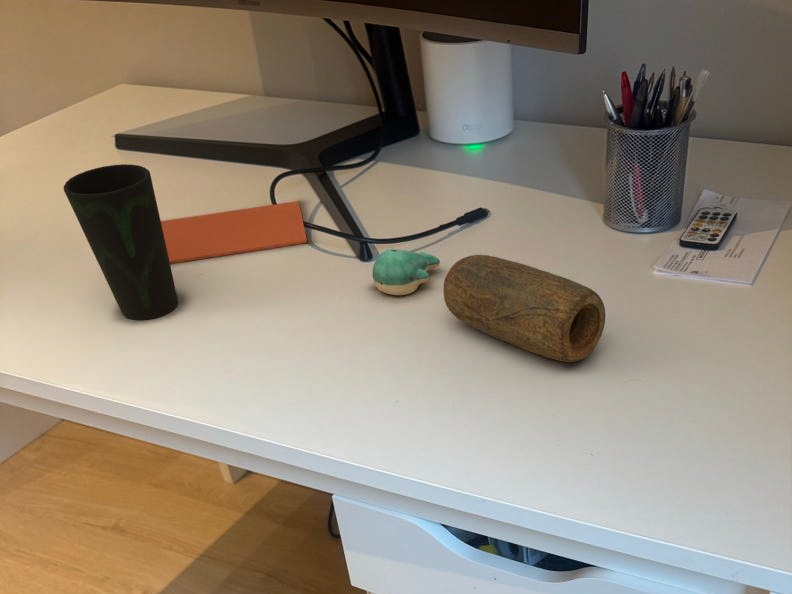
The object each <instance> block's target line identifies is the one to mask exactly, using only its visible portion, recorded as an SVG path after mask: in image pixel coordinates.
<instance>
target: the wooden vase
mask: <svg viewBox="0 0 792 594" xmlns="http://www.w3.org/2000/svg"><path fill="white" fill-rule="evenodd" d="M443 300H444V303H445V305H446V308H447V309H448V311H449V312H450V313H451V314H452V315H453V316H454V317H456V318H457V319H458V320H459V321H460V322H461V321H462V322H463V323H465V324H467V325H469V326H470V327H471V328H474V329H476V330H478V331H481V332H483V333H484V334H487V335H488V336H491V337H492V338H493V337H494V338H496V339H498V340H500V341H503V342H506V343H508V344H511V345H513V346H515V347H517V348H521V349H522V350H525V351H527V352H530V353H532V354H536V355H539V356H541V357H545V358H547V359H551V360H555V361H561V362H565V363H572V362H578V361H581V360H584V359H585V358H586V357H587V356H589V355H590V354H591V353H592V352H593V350H594V349H595V348H596V346H597V344H598V343H599V342H600V339H601V337H602V334H603V332H604V328H605V324H606V308H605V307H606V306H605V304H604V301H603V299H602V298H601V296H600V295H599V293H597V292H596V291H595V290H593V289H592V288H589V287H588V286H586V285H583V284H581V283H579V282H576V281H574V280H573V279H572V280H571V279H569V278H567V277H564V276H560V275H558V274H557V275H556V274H555V273H552V272H549V271H545V270H542V269H539V268H536V267H533V266H530V265H528V264H524V263H520V262H518V261H513V260H510V259H505V258H501V257H498V256H493V255H488V254H473V255H469V256H465V257H462V258H460V259H459V260H457V261H456V262H455V263H454V264H453V265H452V266H451V267H450V269H449V270H448V272H447V274H446V276H445V278H444V282H443Z"/></svg>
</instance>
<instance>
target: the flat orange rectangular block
mask: <svg viewBox="0 0 792 594" xmlns="http://www.w3.org/2000/svg"><path fill="white" fill-rule="evenodd" d="M301 209H302V208H301V205H300V201H299V200H297V201H290V202H289V201H288V202H283V203H277V204H276V203H275V204H268V205H261V206H256V207H255V206H254V207H249V208H241V209H235V210H228V211H221V212H215V213H207V214H200V215H194V216H187V217H182V218H181V217H180V218H175V219H168V220H167V219H166V220H161V225H162V229H163V234H164V239H165V243H166V248H167V252H168V257H169V261H170V265H171V264H177V263H184V262H190V261H196V260H202V259H209V258H217V257H221V256H228V255H234V254H242V253H248V252H249V253H250V252H254V251H263V250H267V249H276V248H282V247H288V246H294V245H302V244H308V239H307V234H306V230H305V224H304V221H303V215H302V210H301Z"/></svg>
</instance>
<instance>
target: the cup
mask: <svg viewBox="0 0 792 594" xmlns="http://www.w3.org/2000/svg"><path fill="white" fill-rule="evenodd" d="M63 192H64V194H65V196H66V198H67V200H68V203H69V205H70V206H71V209H72V211H73V213H74V215H75V217H76V220H77V221H78V223H79V225H80V227H81V230H82V232H83V234H84V236H85V239H86V240H87V243H88V244H89V248H91V251H92V254H93V255H94V258H95V259H96V261H97V264H98V266H99V269H100V270H101V272H102V274H103V277H104V278H105V281H106V283H107V285H108V287H109V289H110V291H111V294H112V296H113V297H114V300H115V302H116V304H117V305H118V308H119V311H120V313H121V314H122V316H123V317H125V318H126V319H128V320H132V321H149V320H154V319H158V318H161V317H163V316H166V315H168V314H169V313H171V312H173V311H174V310H176V309H177V307H178V306H179V299H178V294H177V288H176V285H175V280H174V275H173V271H172V266H171V264H170V261H169V257H168V252H167V248H166V243H165V239H164V234H163V229H162V225H161V221H162V220H161V217H160V216H161V215H160V212H159V207H158V203H157V198H156V194H155V189H154V185H153V180H152V174H151V171H150V170H149V169H148V168H146V167H145V166H142V165H138V164H127V163H126V164H125V163H123V164H112V165H105V166H99V167H95V168H92V169H89V170H85V171H82V172H80V173H78V174H76V175H74V176H72V177H71V178H69V179H67V181H66V182H65V183H64V185H63Z"/></svg>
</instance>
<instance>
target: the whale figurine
mask: <svg viewBox="0 0 792 594" xmlns="http://www.w3.org/2000/svg"><path fill="white" fill-rule="evenodd" d="M440 264H441V260H440V259H439V258H438V257H437V256H435V255H433V254H431V253H426V252H424V251H419V252H414V251H411V250H406V249H399V248H389V249H386V250H384V251H382V252H381V253H380V254H379V255H378V256H377V257H376V259H375V260H374V263H373V266H372V279H373V283H374V286H375V288H376V289H377V290H379V291H380V292H382V293H385V294H388V295H392V296H405V295H410V294H412V293H413V292H415V291H416V290H417V289H418V287H419V286H420V285H421V284H426V283H428V282H429V281H430V278H431V276H430V273H429V272H428V271H432V270H435V269H436V268H438V267H439V266H440Z"/></svg>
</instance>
